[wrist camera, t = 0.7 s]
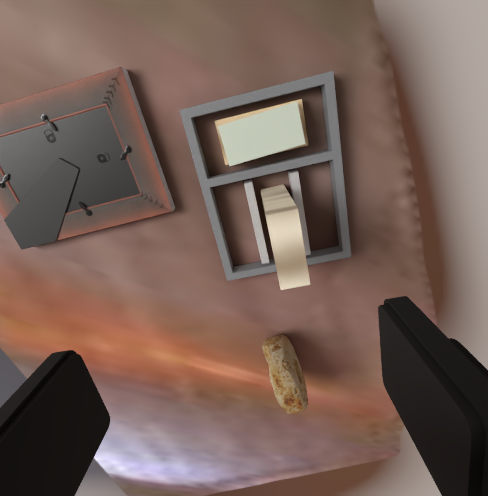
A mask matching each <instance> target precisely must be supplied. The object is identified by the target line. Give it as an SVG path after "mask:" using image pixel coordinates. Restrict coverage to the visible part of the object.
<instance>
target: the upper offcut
mask: <svg viewBox="0 0 488 496" xmlns="http://www.w3.org/2000/svg"><path fill="white" fill-rule="evenodd" d="M218 129H219V133H220V136H221V140H222V143H223V146H224V150H225V153H226V156H227V160H228V163H229V166H233V165H236V164H239V163H243V162H246V161H249V160H253V159H256V158H260V157H263V156H266V155H270V154H273V153H276V152H280V151H283V150H287V149H290V148H293V147H297V146H300V145H303V144H306V143H305V138H304V133H303V128H302V123H301V118H300V113H299V108H298V103H297V101H296V102H293V103H290V104H287V105H284V106H280V107H277V108H274V109H271V110H268V111H265V112H261V113H258V114H255V115H252V116H249V117H246V118H242V119H239V120H236V121H233V122H230V123H226V124H223V125H220V126H218Z"/></svg>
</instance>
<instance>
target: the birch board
mask: <svg viewBox="0 0 488 496" xmlns="http://www.w3.org/2000/svg"><path fill="white" fill-rule="evenodd" d="M260 190H261V195H262V200H263V205H264V210H265V216H266V221H267V225H268V230H269V235H270V240H271V245H272V250H273V255H274V259H275V264H276V269H277V274H278V279H279V284H280V289H281V290H284V289H289V288H294V287H300V286H305V285H310V280H309V273H308V267H307V261H306V255H305V249H304V242H303V236H302V230H301V224H300V218H299V211H298V208H297V206H296V204H295V203H294V201H293V199H292V198H291V196H290V194H289V193H288V191H287V189H286V188H285V186H284V184H283V185H278V186H274V187H269V188H265V189H260Z"/></svg>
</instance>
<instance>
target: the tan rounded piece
mask: <svg viewBox="0 0 488 496" xmlns="http://www.w3.org/2000/svg"><path fill="white" fill-rule="evenodd" d="M262 347H263V352H264V355H265V357H266V360H267V362H268V364H269V371H270V376H269V377H270V381H271V384H272V387H273V390H274V393H275V397H276V399H277V401H278V403H279V404H280V406H281V407H282V408H283V409H284V410H285V411H286V412H287V413H289V414H296V413H299V412H302V411H303V410H305V409H306V408H307V404H308V402H307V401H308V398H307V390H306V384H305V379H304V375H303V372H302V369H301V366H300V363H299V360H298V358H297V355H296V353H295V350H294V348H293V346H292V344H291V343H290V341H289V339H288V338H287V337H286V336H284V335H278V336H274V337H270V338H268V339H266V340H265V341H264V342H263V345H262Z"/></svg>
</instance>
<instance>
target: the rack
mask: <svg viewBox="0 0 488 496" xmlns="http://www.w3.org/2000/svg"><path fill="white" fill-rule="evenodd" d="M319 86H321V93H322V101H323V110H324V119H325V128H326V137H327V146H328V150H323V151H319V152H314V153H310V154H306V155H301V156H297V157H293V158H288V159H284V160H280V161H275V162H271V163H267V164H262V165H258V166H254V167H249V168H245V169H241V170H236V171H232V172H228V173H223V174H219V175H215V176H210V177H209V174H208V170H207V166H206V162H205V159H204V155H203V151H202V147H201V144H200V140H199V136H198V132H197V129H196V125H195V121H194V118H196V117H200V116H203V115H207V114H211V113H215V112H219V111H223V110H227V109H231V108H235V107H239V106H243V105H247V104H251V103H255V102H259V101H263V100H267V99H271V98H275V97H279V96H283V95H287V94H291V93H295V92H299V91H303V90H307V89H311V88H315V87H319ZM180 114H181V118H182V121H183V125H184V128H185V132H186V135H187V139H188V142H189V146H190V150H191V153H192V157H193V160H194V164H195V167H196V171H197V175H198V178H199V182H200V185H201V189H202V192H203V196H204V199H205V203H206V207H207V210H208V214H209V217H210V221H211V224H212V228H213V232H214V235H215V239H216V242H217V246H218V249H219V253H220V257H221V260H222V264H223V267H224V271H225V274H226V278H227V281H229V280H235V279H240V278H245V277H250V276H255V275H260V274H265V273H271V272H276V271H277V269H276V264H275V259H270V260H269V257H268V252H267V248H266V243H265V238H264V234H263V229H262V224H261V220H260V215H259V210H258V205H257V201H256V196H255V191H254V187H253V182H252V179H251V180H247V181H244V186H245V190H246V195H247V199H248V204H249V208H250V213H251V217H252V222H253V226H254V230H255V235H256V239H257V244H258V248H259V253H260V257H261V261H260V262H255V263H250V264H245V265H240V266H235V267H233V264H232V260H231V256H230V252H229V249H228V245H227V241H226V237H225V234H224V230H223V226H222V222H221V219H220V215H219V211H218V207H217V204H216V200H215V196H214V192H213V189H212V187H214V186H218V185H223V184H227V183H232V182H236V181H240V180H245V179H249V178H254V177H258V176H262V175H267V174H271V173H276V172H280V171H285V170H289V169H293V168H298V167H302V166H307V165H311V164H315V163H320V162H324V161H329V163H330V172H331V181H332V190H333V199H334V208H335V217H336V225H337V234H338V243H339V246H335V247H330V248H325V249H320V250H315V251H310V246H309V239H308V233H307V226H306V220H305V213H304V207H303V200H302V194H301V187H300V181H299V174H298V171H297V170H296V169H295V170H291V171H288V176H289V182H290V188H291V194H292V199H293V201H294V203H295V204H296V206H297V208H298V211H299V218H300V224H301V230H302V236H303V242H304V249H305V255H306V261H307V265H312V264H317V263H322V262H327V261H332V260H338V259H343V258H348V257H351V248H350V237H349V227H348V217H347V206H346V196H345V186H344V176H343V165H342V155H341V145H340V134H339V124H338V114H337V103H336V93H335V83H334V72H333V71H331V72H327V73H323V74H319V75H315V76H311V77H307V78H303V79H300V80H296V81H292V82H288V83H284V84H280V85H276V86H272V87H268V88H264V89H260V90H256V91H253V92H249V93H245V94H241V95H237V96H233V97H229V98H225V99H221V100H217V101H213V102H209V103H206V104H202V105H198V106H194V107H190V108H186V109H182V110H180Z"/></svg>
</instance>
